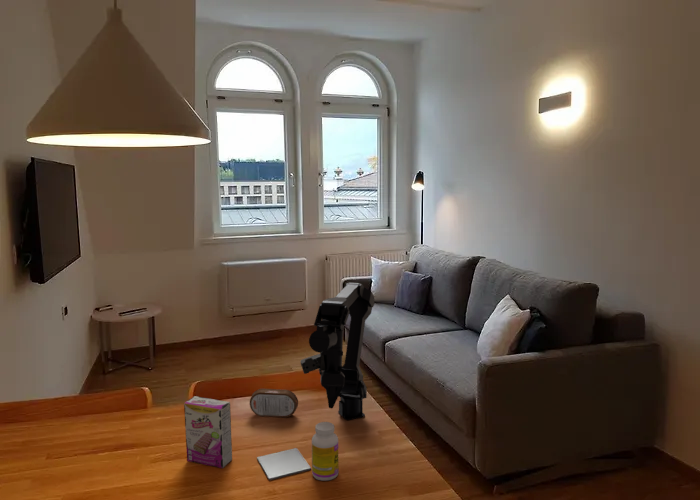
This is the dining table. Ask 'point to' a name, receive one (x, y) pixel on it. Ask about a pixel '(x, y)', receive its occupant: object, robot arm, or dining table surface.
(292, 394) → the tin
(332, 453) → the supplement bottle
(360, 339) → the robot arm
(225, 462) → the candy bar box
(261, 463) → the slate coaster
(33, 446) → the dining table surface
